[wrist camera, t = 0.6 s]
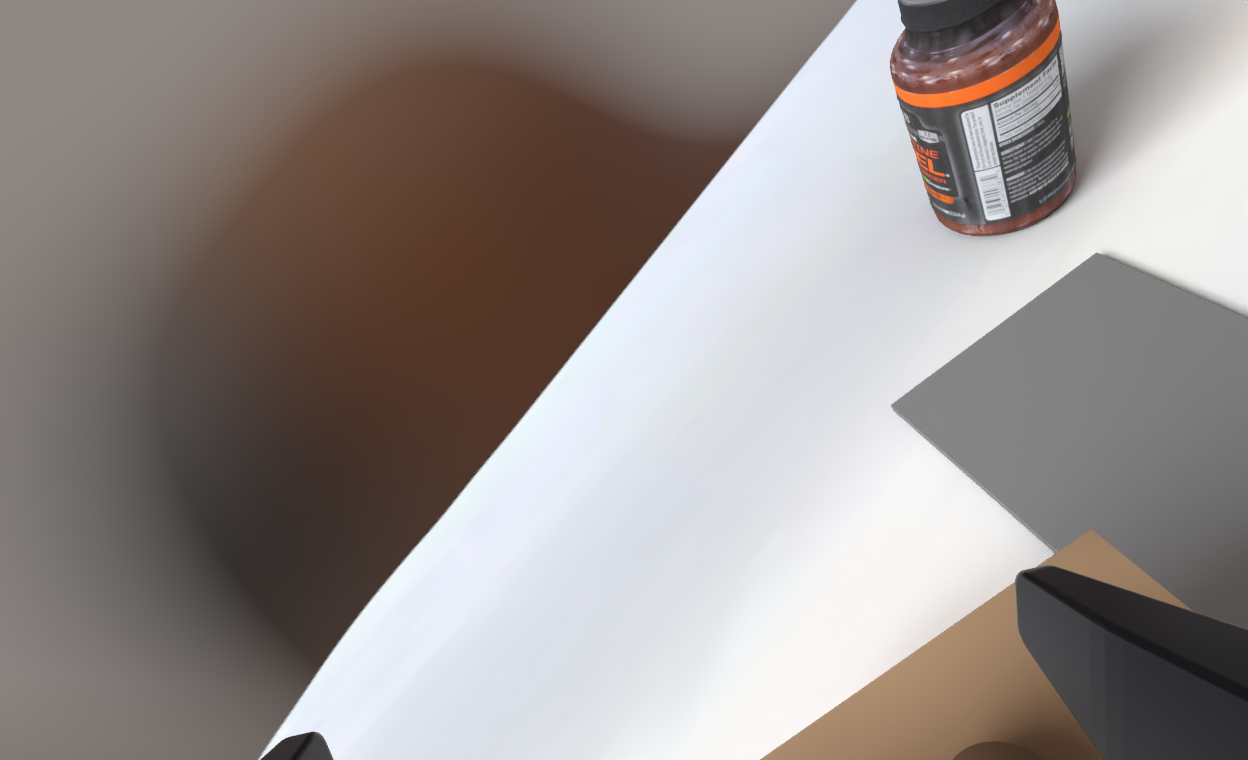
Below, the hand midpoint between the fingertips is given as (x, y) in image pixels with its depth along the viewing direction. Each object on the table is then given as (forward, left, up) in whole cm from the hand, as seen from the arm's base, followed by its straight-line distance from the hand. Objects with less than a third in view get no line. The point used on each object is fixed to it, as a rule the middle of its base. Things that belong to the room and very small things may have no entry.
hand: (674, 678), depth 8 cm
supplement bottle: (+19, -19, -16) cm, 31 cm away
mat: (+6, -13, -16) cm, 22 cm away
